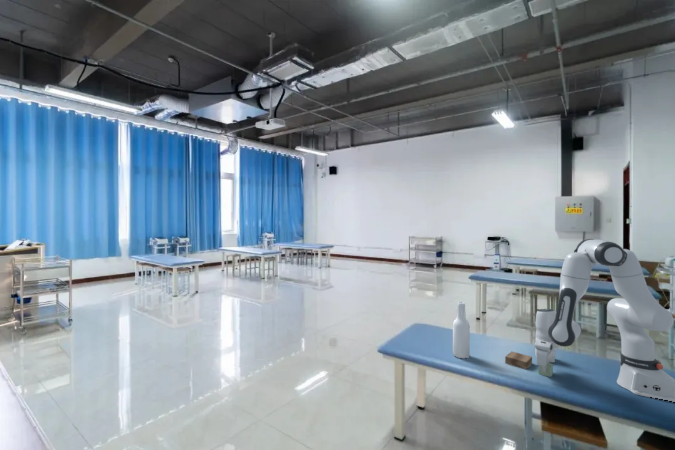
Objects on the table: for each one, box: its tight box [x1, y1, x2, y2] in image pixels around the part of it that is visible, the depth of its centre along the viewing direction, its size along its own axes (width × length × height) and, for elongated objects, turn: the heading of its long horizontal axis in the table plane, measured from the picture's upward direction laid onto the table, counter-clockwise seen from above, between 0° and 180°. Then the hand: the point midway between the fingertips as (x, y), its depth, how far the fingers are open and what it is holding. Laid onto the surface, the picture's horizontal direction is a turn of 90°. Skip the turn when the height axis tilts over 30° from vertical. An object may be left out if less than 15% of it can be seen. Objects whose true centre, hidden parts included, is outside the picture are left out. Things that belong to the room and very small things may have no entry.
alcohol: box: [452, 301, 471, 360], centre depth 179 cm, size 9×9×30 cm
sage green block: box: [538, 362, 554, 378], centre depth 157 cm, size 5×5×5 cm
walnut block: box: [504, 351, 533, 370], centre depth 169 cm, size 10×10×4 cm
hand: (545, 369), depth 157 cm, fingers closed on sage green block, 5 cm apart
